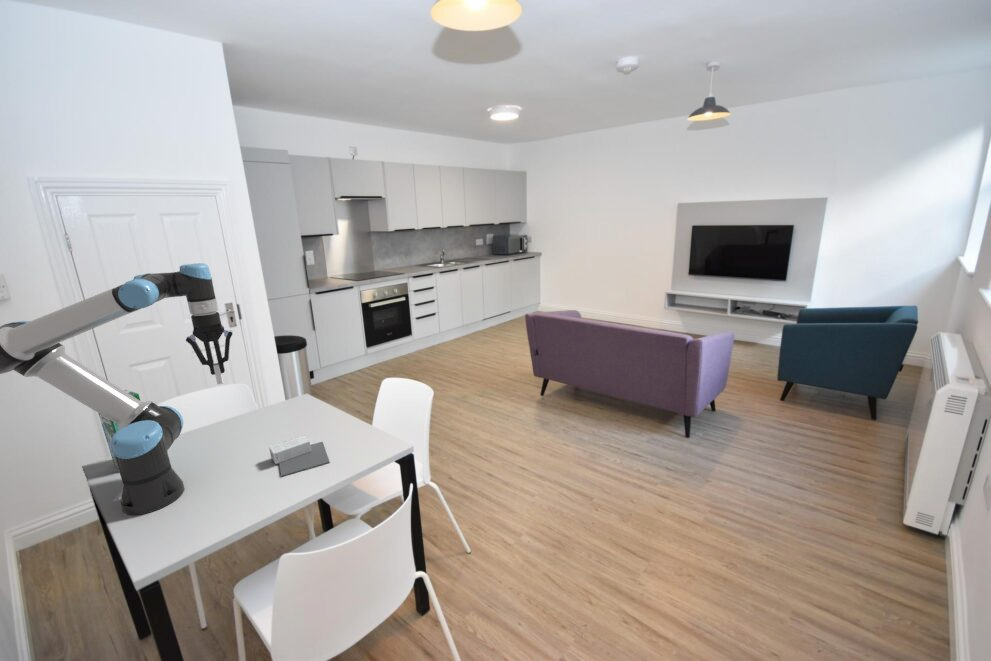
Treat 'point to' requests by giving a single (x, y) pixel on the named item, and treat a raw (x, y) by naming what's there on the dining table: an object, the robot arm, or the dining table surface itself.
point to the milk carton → (112, 426)
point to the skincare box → (290, 449)
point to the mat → (305, 460)
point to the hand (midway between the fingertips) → (220, 382)
